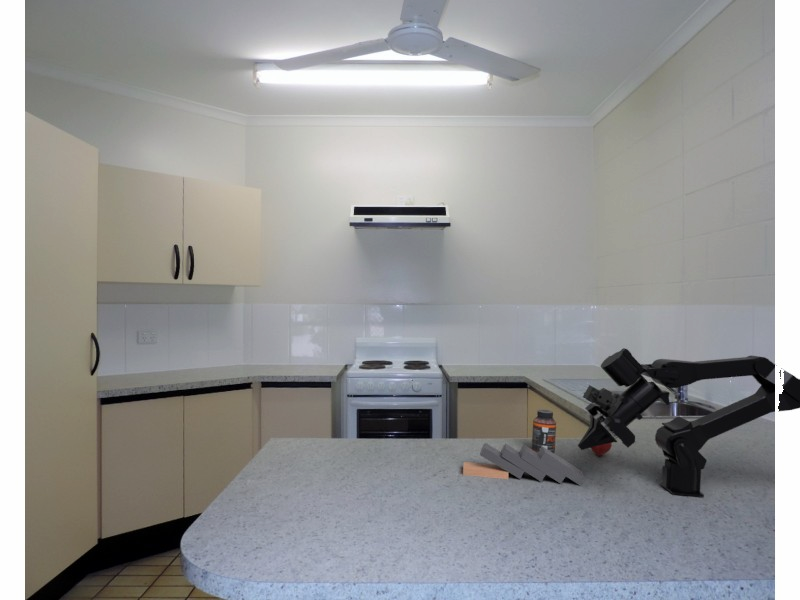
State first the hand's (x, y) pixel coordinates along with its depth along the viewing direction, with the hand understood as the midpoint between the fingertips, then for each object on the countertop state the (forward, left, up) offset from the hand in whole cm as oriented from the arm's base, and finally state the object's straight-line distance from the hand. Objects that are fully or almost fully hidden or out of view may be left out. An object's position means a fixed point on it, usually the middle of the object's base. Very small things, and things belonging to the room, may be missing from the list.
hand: (579, 447), depth 111 cm
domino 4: (+4, 0, -7) cm, 8 cm away
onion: (-11, -23, -8) cm, 27 cm away
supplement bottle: (+4, -21, -8) cm, 23 cm away
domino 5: (-1, 0, -7) cm, 7 cm away
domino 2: (+12, 0, -7) cm, 14 cm away
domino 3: (+8, 0, -7) cm, 10 cm away
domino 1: (+15, 0, -7) cm, 17 cm away
